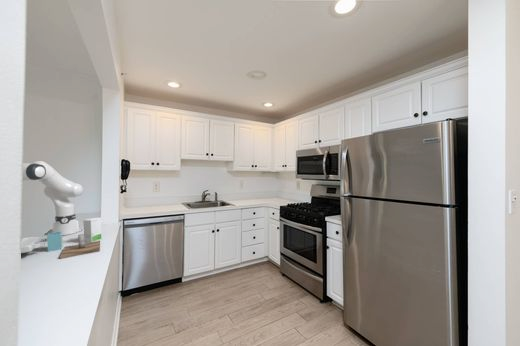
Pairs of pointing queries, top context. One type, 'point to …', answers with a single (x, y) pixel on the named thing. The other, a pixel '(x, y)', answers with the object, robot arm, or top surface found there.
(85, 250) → the base
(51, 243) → the teal pencil cup
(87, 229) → the skincare box
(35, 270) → the top surface
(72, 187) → the robot arm
